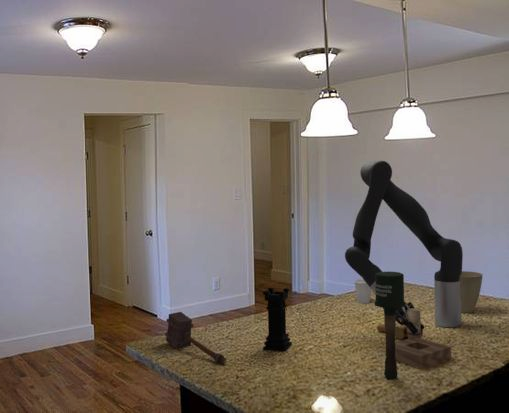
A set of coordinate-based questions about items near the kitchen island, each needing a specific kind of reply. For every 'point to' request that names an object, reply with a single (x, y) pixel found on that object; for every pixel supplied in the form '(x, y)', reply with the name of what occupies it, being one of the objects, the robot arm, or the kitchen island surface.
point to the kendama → (396, 331)
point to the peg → (414, 322)
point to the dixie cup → (362, 291)
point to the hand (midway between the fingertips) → (419, 330)
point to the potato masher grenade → (390, 312)
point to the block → (421, 352)
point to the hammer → (186, 335)
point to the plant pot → (469, 290)
